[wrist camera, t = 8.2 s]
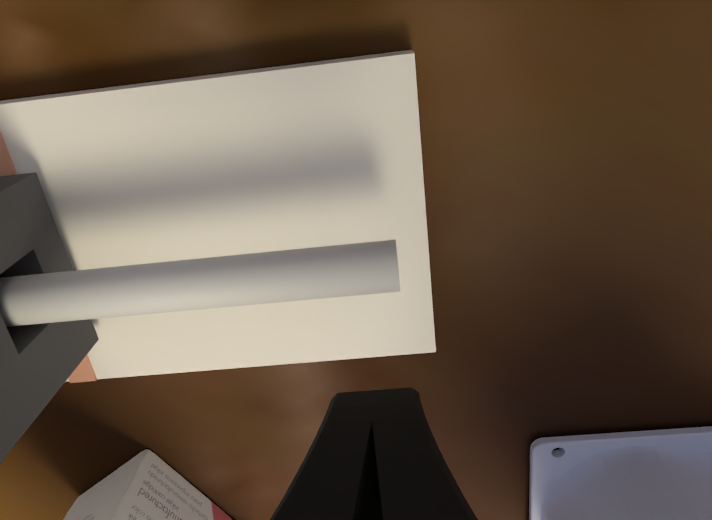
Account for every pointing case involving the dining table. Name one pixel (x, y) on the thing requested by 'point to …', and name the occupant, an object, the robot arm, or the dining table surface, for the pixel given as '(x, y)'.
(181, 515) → the ink cartridge box
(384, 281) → the pipe stand
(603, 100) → the dining table surface
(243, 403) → the dining table surface
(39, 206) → the grey square sleeve
